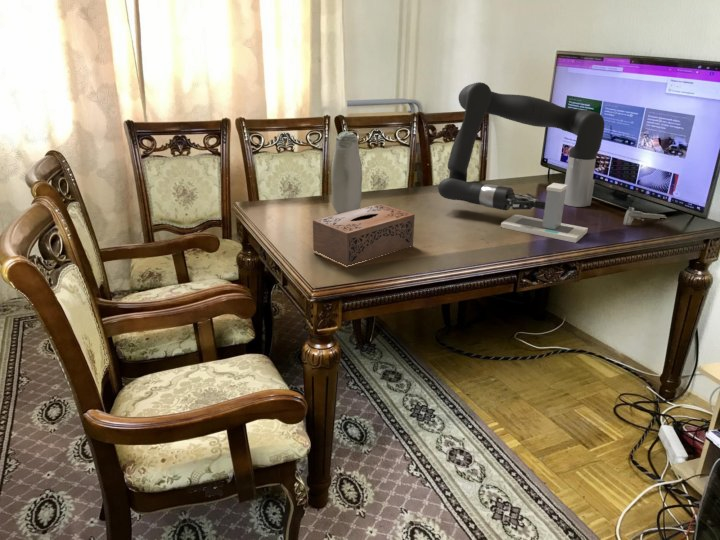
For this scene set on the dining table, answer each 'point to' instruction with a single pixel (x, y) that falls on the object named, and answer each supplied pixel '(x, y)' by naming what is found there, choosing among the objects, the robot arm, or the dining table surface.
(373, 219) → the tissue box cover
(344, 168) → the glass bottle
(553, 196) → the switch tab
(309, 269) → the dining table surface
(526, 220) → the switch panel
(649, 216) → the caliper
